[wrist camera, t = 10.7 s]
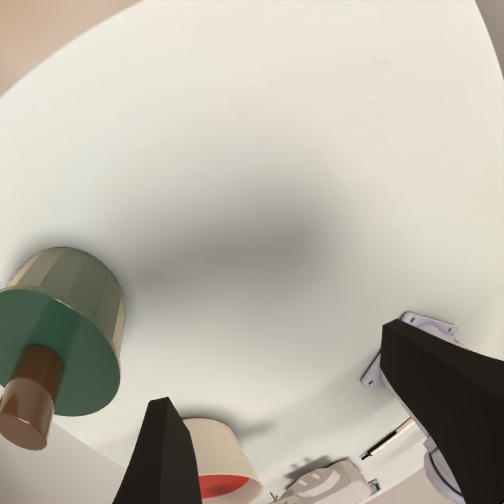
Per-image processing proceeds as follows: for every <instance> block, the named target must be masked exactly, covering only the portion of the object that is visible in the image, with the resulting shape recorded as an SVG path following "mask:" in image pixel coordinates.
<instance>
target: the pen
mask: <svg viewBox="0 0 504 504" xmlns="http://www.w3.org/2000/svg"><path fill="white" fill-rule="evenodd" d="M414 423H415V422H414V420H413V419H412V418H410V419H409V420H408V421H407V422H406V423H404V424H403V425H402V426H401V427H399V428H398V429H397V430H396V431H394V432H393V433H392V434H390V435H389V436H388V437H387V438H385V439H384V440H383V441H381V442H380V443H379V444H377V445H376V446H375V447H373V448H372V449H370V450H369V451H368V454H366V455H365V456H364V457H362V458H361V459H362V460H364V459H365V458H367V457H368V456H369V455H370V456H372V455H374V454H375V453H376V452H378V451H379V450H381V449H382V448H383V447H385V446H386V445H387V444H389V443H390V442H391V441H393V440H394V439H395V438H396V437H398V436H399V435H400V434H402V433H403V432H404V431H405V430H406V429H408V428H409V427H410V426H411V425H413V424H414Z"/></svg>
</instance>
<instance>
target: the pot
mask: <svg viewBox="0 0 504 504" xmlns="http://www.w3.org/2000/svg"><path fill="white" fill-rule="evenodd" d="M14 285H32V286H39V287H42V288H46V289H49V290H52V291H54V292H57V293H59V294H61V295H63V296H65V297H67V298H69V299H71V300H72V301H74V302H75V303H77V304H78V305H80V306H81V307H83V308H84V309H85V310H86V311H87V312H89V313H90V314H91V315H92V316H93V317H94V318H95V319H96V320H97V321H98V322H99V323H100V324H101V326H102V327H103V328H104V329H105V330H106V332H107V333H108V335H109V336H110V338H111V339H112V341H113V343H114V345H115V347H116V350H117V353H118V355H119V357H120V350H121V343H122V336H123V329H124V323H125V317H126V311H125V308H126V306H125V299H124V295H123V292H122V289H121V287H120V285H119V283H118V281H117V279H116V278H115V277H114V275H113V274H112V272H111V271H110V270H109V269H108V268H107V267H106V266H105V265H104V264H103V263H102V262H100V261H99V260H98V259H96V258H95V257H93V256H91V255H90V254H88V253H86V252H83V251H81V250H77V249H73V248H67V247H55V248H50V249H47V250H44V251H42V252H40V253H38V254H36V255H35V256H34V257H32V259H30V260H29V261H27V262H26V264H25V265H24V266H23V267H22V268H21V269H20V271H19V272H18V273H17V274H16V275H15V277H14V278H13V279H12V280H11V281H10V283H9V284H8V285H7V286H6V287H9V286H14ZM6 287H5V288H6Z"/></svg>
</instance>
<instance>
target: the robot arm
mask: <svg viewBox="0 0 504 504" xmlns="http://www.w3.org/2000/svg"><path fill="white" fill-rule="evenodd" d="M456 330H457V327H456V326H455V325H452V324H449V323H445V322H442V321H438V320H435V319H431V318H428V317H424V316H421V315H417V314H414V313H410V312H408V313H406V314H405V315H404V316H403V318H402V319H401V320H399V319H395V320H393V321H391V322H389V323H387V324H384V325H383V329H382V343H381V353H380V354H379V356H378V357H377V359H376V360H375V362H374V363H373V364H372V366H371V367H370V369H369V370H368V372H367V373H366V374H365V376H364V377H363V379H362V380H361V383H362V385H363V386H386V387H388V388H389V390H390V391H391V392H392V393H393V395H394V396H395V397H396V399H397V400H398V401H399V402H400V404H401V405H402V406H403V407H404V409H405V410H406V411H407V413H408V414H409V415H410V416H411V418H412V419H413V420H414V422H415V423H416V424H417V425H418V427H419V428H420V429H421V431H422V432H423V433H424V434H425V436H426V437H427V440H426V441H425V442H424V443H423V444H424V446H425V447H426V448H427V450H428V451H427V452H426V453H425V455H424V470H425V473H426V475H427V477H428V479H429V481H430V482H431V484H432V485H433V486H434V488H435V489H436V490H437V491H438V492H439V493H440V494H441V495H443V496H444V497H445V498H447V499H449V500H452V501H454V502H455V503H456V504H504V361H502V360H498V359H494V358H491V357H487V356H484V355H481V354H478V353H476V352H473V351H470V350H469V349H467V348H466V347H465V346H464V345H463V344H462V343H461V342H459V341H458V340H457V339H456V338H455V337H454V336H453V335H454V334H455V332H456ZM112 504H202V498H201V491H200V484H199V476H198V468H197V460H196V456H195V451H194V447H193V443H192V439H191V435H190V431H189V430H188V428H187V427H186V425H185V424H184V422H183V420H182V419H181V417H180V416H179V414H178V412H177V411H176V409H175V407H174V406H173V404H172V402H171V401H170V399H169V397H165V398H161V399H156V400H151V401H150V402H149V403H148V407H147V410H146V413H145V417H144V420H143V424H142V427H141V430H140V433H139V436H138V440H137V443H136V445H135V448H134V451H133V454H132V457H131V460H130V463H129V465H128V468H127V471H126V473H125V476H124V478H123V480H122V483H121V486H120V488H119V490H118V492H117V495H116V497H115V499H114V501H113V503H112Z"/></svg>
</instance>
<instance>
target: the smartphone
mask: <svg viewBox="0 0 504 504" xmlns="http://www.w3.org/2000/svg"><path fill="white" fill-rule="evenodd" d="M369 486H370V488H371V490H372V493H371V494H370V496H371V495H373V494H375V493H376V492H378V491H379V490H380V489H381V488H380V485H379V482H378V480H374V481H372V482H370V483H369Z"/></svg>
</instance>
